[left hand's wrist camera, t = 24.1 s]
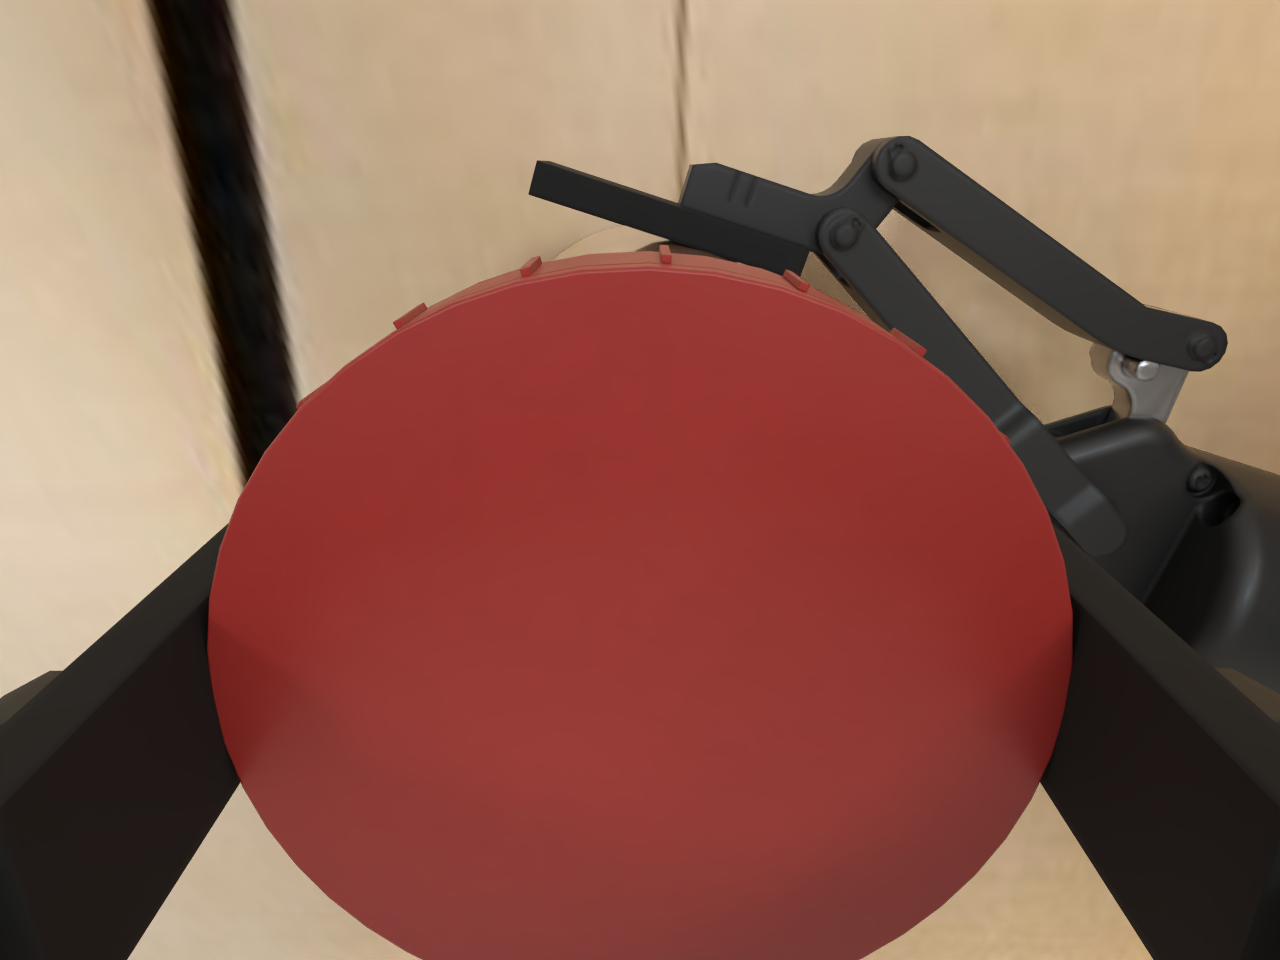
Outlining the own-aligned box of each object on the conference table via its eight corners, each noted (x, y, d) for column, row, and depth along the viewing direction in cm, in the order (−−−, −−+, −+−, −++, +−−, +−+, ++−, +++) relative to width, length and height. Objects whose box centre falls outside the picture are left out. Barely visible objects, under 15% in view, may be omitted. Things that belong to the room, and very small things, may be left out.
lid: (101, 434, 11) (15, 479, 10) (910, 101, 10) (960, 90, 8) (460, 992, 15) (439, 1087, 13) (1092, 805, 13) (1151, 890, 12)
